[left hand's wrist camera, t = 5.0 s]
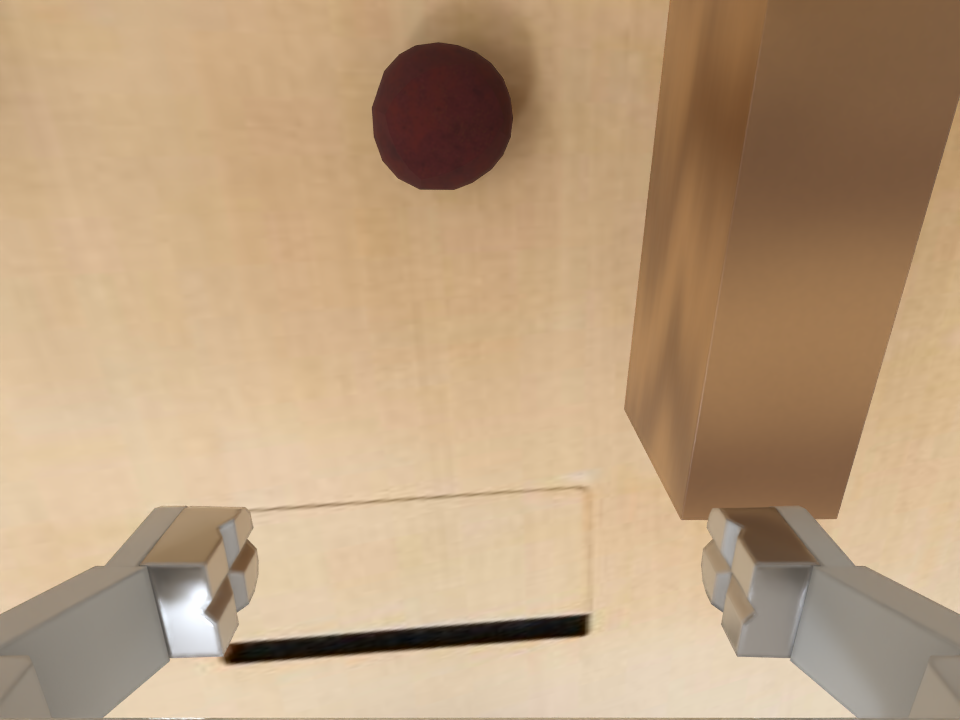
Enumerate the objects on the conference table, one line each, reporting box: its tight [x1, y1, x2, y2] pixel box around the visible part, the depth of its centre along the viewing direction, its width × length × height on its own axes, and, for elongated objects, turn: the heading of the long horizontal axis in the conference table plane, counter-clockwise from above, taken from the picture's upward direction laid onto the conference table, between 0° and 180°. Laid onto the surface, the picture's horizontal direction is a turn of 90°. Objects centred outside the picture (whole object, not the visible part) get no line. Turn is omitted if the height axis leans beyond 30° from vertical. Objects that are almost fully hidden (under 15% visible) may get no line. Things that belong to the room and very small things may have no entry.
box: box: [624, 0, 960, 520], centre depth 23 cm, size 27×6×10 cm, turn 0°
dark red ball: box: [372, 42, 513, 190], centre depth 32 cm, size 7×8×7 cm
